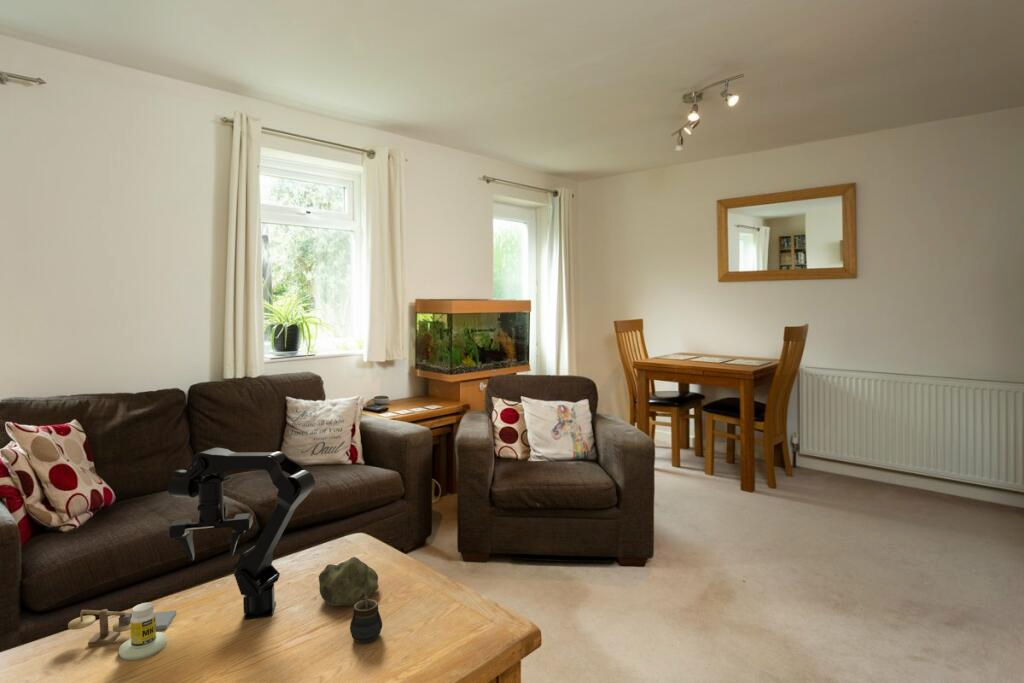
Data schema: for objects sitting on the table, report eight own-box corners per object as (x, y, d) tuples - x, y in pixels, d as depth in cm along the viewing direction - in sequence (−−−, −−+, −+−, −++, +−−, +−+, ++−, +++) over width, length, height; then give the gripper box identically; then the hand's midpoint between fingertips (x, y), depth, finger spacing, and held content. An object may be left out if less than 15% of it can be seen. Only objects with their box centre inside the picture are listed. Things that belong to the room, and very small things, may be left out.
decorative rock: (387, 605, 149) (390, 569, 148) (327, 619, 140) (330, 581, 139) (368, 578, 161) (371, 544, 160) (311, 589, 152) (314, 554, 151)
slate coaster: (176, 613, 142) (176, 609, 142) (167, 628, 135) (166, 624, 135) (145, 617, 140) (145, 613, 140) (134, 633, 133) (133, 628, 133)
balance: (142, 629, 135) (141, 598, 134) (134, 641, 130) (132, 608, 129) (75, 638, 131) (74, 606, 131) (64, 650, 126) (62, 617, 126)
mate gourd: (353, 650, 126) (352, 607, 125) (347, 634, 132) (346, 592, 132) (385, 641, 129) (384, 599, 129) (377, 626, 136) (376, 585, 135)
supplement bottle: (143, 650, 124) (142, 613, 124) (125, 647, 125) (124, 611, 125) (161, 637, 129) (160, 602, 129) (144, 635, 130) (142, 600, 129)
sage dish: (172, 634, 133) (171, 629, 133) (158, 656, 124) (158, 651, 124) (128, 640, 130) (128, 635, 130) (111, 663, 122) (111, 657, 122)
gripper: (255, 485, 154) (257, 541, 155) (179, 491, 149) (181, 549, 150) (248, 498, 143) (249, 558, 144) (166, 505, 138) (168, 567, 139)
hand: (212, 557), depth 145 cm, fingers open, 9 cm apart
